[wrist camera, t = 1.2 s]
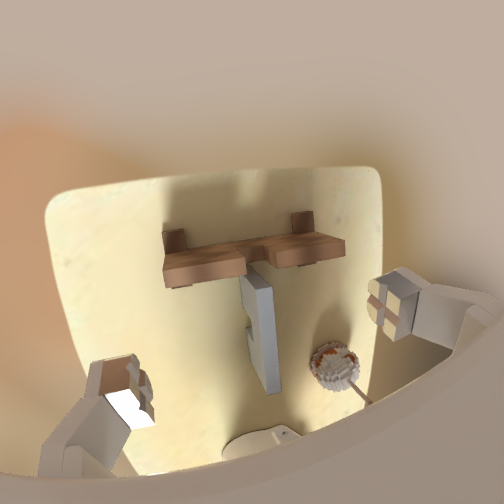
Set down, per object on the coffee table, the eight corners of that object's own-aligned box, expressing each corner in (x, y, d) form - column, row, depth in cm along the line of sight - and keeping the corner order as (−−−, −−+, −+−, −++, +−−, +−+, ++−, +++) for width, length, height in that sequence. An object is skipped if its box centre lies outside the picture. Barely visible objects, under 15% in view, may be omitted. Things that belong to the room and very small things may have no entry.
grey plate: (238, 268, 44) (255, 289, 34) (251, 266, 44) (272, 286, 35) (250, 360, 47) (267, 395, 38) (261, 357, 48) (281, 391, 38)
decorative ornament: (350, 360, 53) (395, 402, 39) (317, 383, 52) (356, 431, 38) (338, 333, 51) (387, 374, 36) (302, 356, 50) (343, 406, 36)
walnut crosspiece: (309, 211, 45) (343, 216, 35) (313, 261, 46) (346, 278, 37) (162, 231, 40) (157, 243, 30) (171, 286, 42) (171, 313, 32)
